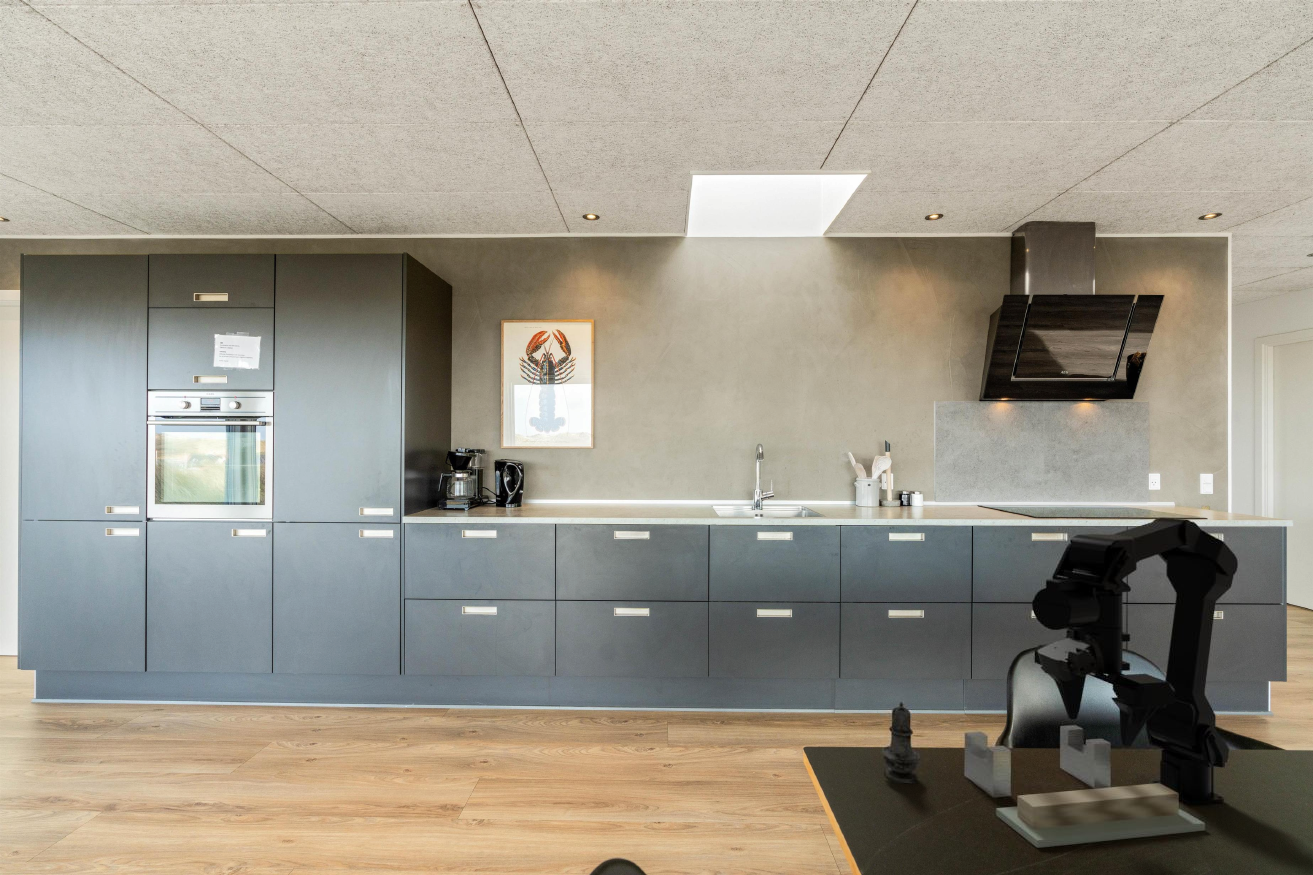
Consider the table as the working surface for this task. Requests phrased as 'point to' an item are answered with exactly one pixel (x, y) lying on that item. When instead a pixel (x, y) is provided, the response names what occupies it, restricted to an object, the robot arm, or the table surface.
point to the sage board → (1100, 828)
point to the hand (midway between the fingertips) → (1098, 731)
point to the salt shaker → (901, 748)
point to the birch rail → (1097, 805)
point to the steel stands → (1075, 758)
